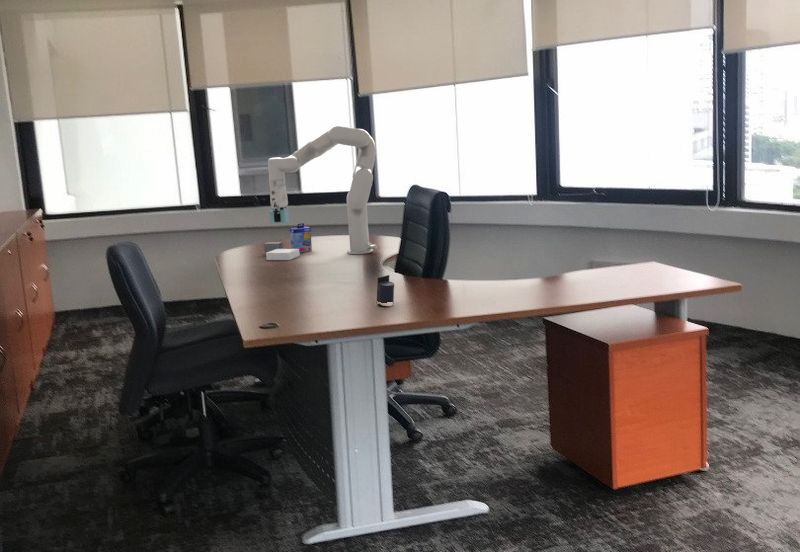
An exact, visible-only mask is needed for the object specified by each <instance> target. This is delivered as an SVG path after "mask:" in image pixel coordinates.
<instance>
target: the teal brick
mask: <svg viewBox="0 0 800 552" xmlns="http://www.w3.org/2000/svg"><path fill="white" fill-rule="evenodd" d="M279 214H280V217H281V222H274V214H273V210H272V209H271V210H269V220H270V224H287V223H290V222H291V221H290V211H289V209H285V210H279Z"/></svg>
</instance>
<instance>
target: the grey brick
mask: <svg viewBox="0 0 800 552" xmlns="http://www.w3.org/2000/svg"><path fill="white" fill-rule="evenodd" d="M263 246H264V247H263V248H264V256H266V253H267V252H270V251H273V250H275V249H284V245H283V241H282V242H281V241H273V242H272V241H268V242H265V243H263Z"/></svg>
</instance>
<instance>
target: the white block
mask: <svg viewBox="0 0 800 552" xmlns="http://www.w3.org/2000/svg"><path fill="white" fill-rule="evenodd" d="M300 254H301V252H299V249H291V248H283V249H275V250H273V251H270V252H267V253H266V255H265V256H266V258H265V259H266V261H289V260H290V261H291V260H292V259H293V260H294V259H295V258H298V257H300V256H301V255H300Z"/></svg>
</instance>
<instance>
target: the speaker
mask: <svg viewBox="0 0 800 552" xmlns="http://www.w3.org/2000/svg"><path fill="white" fill-rule="evenodd" d="M376 289H377V291H376V302H377V301H378V302H381V303H387V302H393V303H394V302H395V301H394V297H395V283H394V282H392V281H390V274H387V275H382V276H378V277H377V287H376Z"/></svg>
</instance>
